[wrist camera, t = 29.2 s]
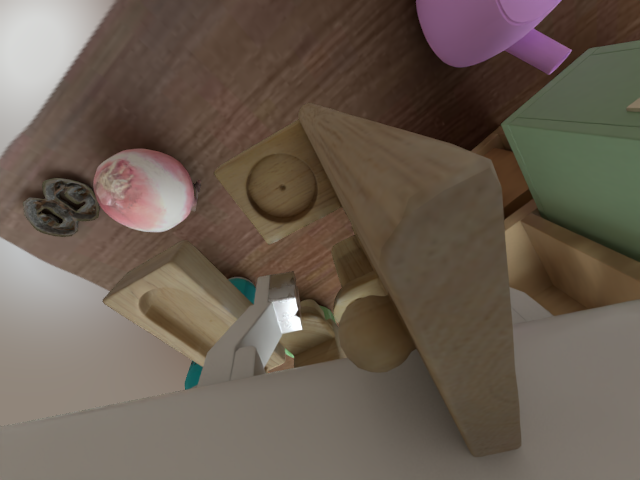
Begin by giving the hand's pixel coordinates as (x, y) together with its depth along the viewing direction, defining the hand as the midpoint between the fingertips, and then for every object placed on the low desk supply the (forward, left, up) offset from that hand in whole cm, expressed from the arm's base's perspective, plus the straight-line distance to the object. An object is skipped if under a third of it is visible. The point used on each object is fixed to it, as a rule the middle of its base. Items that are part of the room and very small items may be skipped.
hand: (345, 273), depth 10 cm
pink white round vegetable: (+12, -10, -19) cm, 24 cm away
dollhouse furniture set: (+5, -1, -4) cm, 7 cm away
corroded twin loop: (+21, -15, -19) cm, 32 cm away
